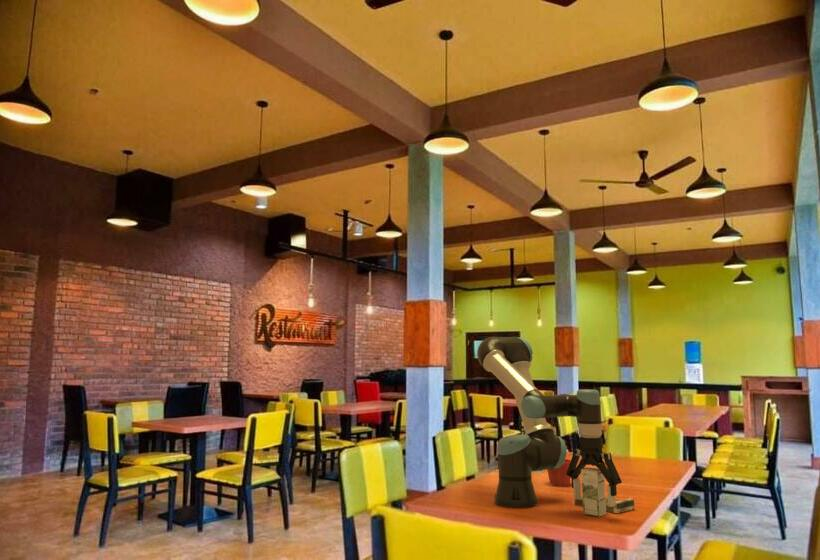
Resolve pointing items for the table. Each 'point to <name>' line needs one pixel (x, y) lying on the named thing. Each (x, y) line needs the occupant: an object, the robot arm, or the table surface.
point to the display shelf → (620, 506)
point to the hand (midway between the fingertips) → (594, 502)
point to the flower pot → (560, 475)
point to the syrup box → (593, 492)
